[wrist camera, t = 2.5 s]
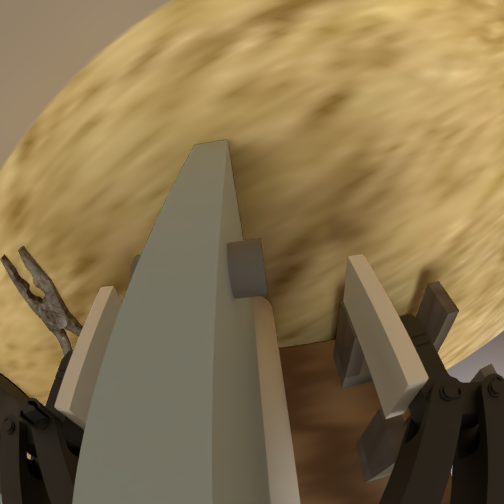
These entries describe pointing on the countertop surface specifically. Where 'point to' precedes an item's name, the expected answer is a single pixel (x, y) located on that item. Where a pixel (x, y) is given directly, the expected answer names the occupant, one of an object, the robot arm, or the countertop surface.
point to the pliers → (44, 299)
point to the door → (192, 363)
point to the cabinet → (350, 411)
